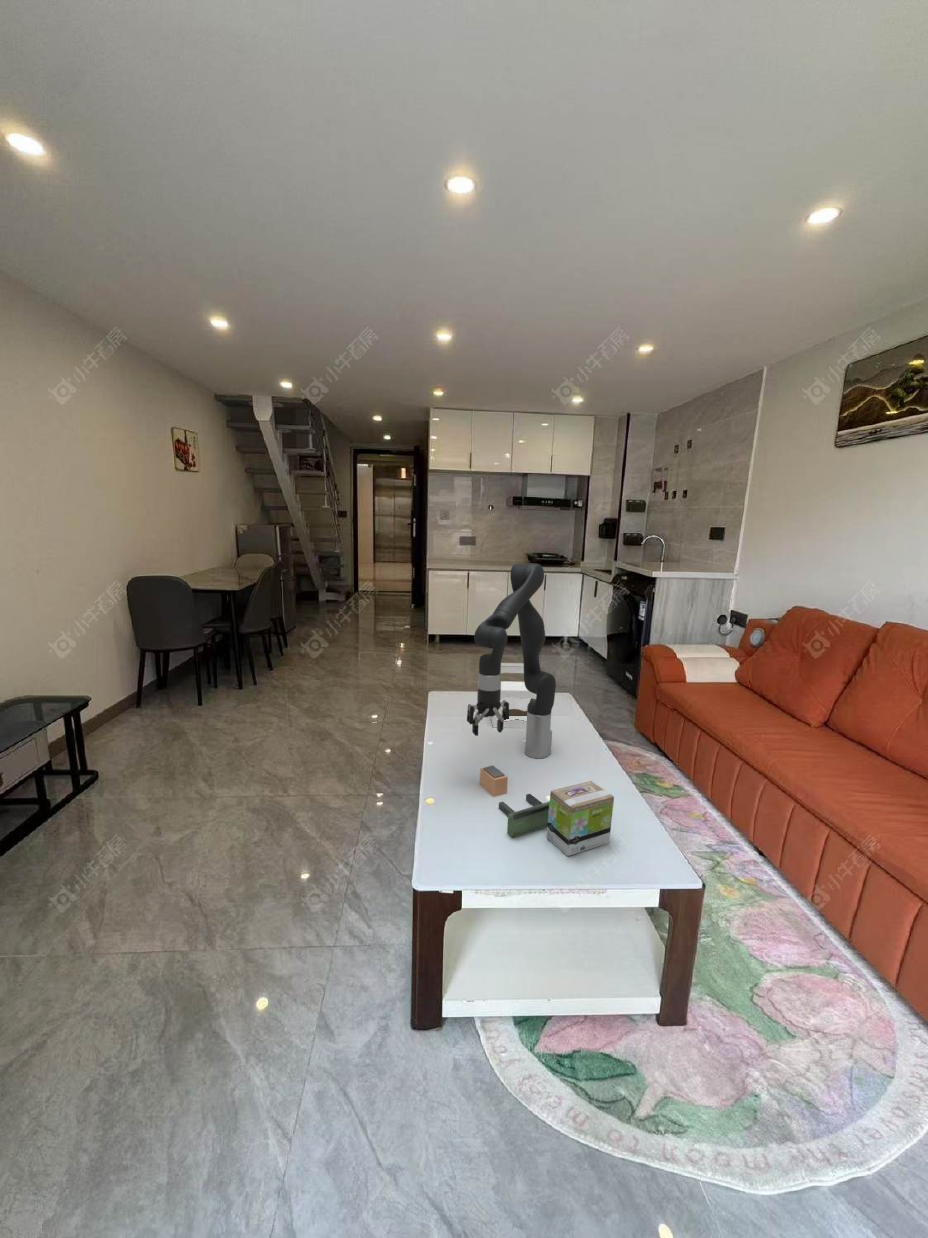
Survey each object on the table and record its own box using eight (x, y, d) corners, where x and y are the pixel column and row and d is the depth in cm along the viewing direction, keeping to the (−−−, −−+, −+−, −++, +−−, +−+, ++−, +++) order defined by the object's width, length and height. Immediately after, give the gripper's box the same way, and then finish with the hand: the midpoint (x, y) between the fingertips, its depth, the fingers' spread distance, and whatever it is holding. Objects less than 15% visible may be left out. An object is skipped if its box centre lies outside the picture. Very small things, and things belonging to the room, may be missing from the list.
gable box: (492, 728, 219) (494, 666, 214) (490, 716, 232) (492, 658, 227) (542, 729, 220) (545, 667, 215) (537, 717, 233) (540, 659, 228)
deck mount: (541, 795, 164) (543, 775, 163) (573, 819, 151) (574, 797, 150) (485, 812, 153) (485, 790, 152) (513, 839, 140) (514, 816, 139)
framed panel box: (492, 781, 173) (492, 764, 172) (506, 793, 165) (507, 775, 164) (479, 784, 170) (480, 767, 169) (494, 797, 163) (494, 778, 161)
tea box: (568, 858, 133) (572, 807, 130) (545, 838, 142) (548, 789, 139) (610, 843, 140) (615, 795, 137) (586, 824, 149) (590, 778, 146)
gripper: (503, 681, 168) (502, 726, 171) (464, 685, 163) (463, 731, 166) (514, 687, 161) (512, 735, 164) (473, 692, 156) (472, 740, 159)
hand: (487, 733), depth 165 cm, fingers open, 8 cm apart
